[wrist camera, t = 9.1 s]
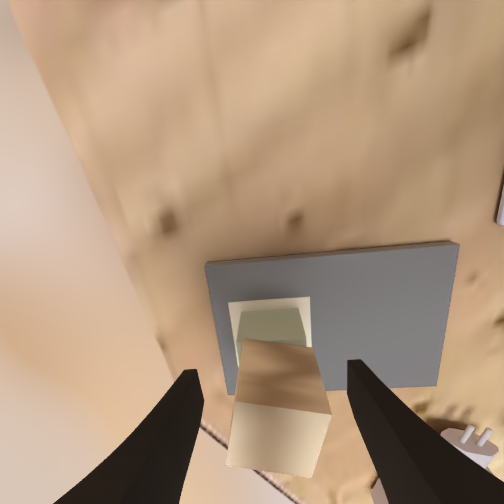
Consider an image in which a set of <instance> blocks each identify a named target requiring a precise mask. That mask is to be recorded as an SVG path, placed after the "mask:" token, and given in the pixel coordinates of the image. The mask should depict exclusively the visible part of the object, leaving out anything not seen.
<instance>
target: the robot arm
mask: <svg viewBox="0 0 504 504" xmlns="http://www.w3.org/2000/svg"><path fill="white" fill-rule="evenodd" d="M497 223H498V224H499V225H502V226H504V186H503V191H502V196H501V201H500V206H499V211H498V215H497ZM347 395H348V398H349V402H350V405H351V408H352V412H353V415H354V418H355V421H356V423H357V426H358V428H359V430H360V433H361V435H362V438H363V440H364V442H365V445H366V447H367V450H368V452H369V454H370V457H371V459H372V462H373V464H374V466H375V469H376V471H377V474H378V476H379V478H380V481H381V484H382V486H383V489H384V491H385V494H386V497H387V500H388V503H389V504H504V482H503V481H501V480H500V479H498V478H497V477H495V476H494V475H493V474H491V473H490V472H488V471H487V470H486V469H484V468H483V467H482V466H480V465H479V464H477V463H476V462H475V461H473V460H472V459H470V458H469V457H468V456H466V455H465V454H464V453H462V452H461V451H460V450H458V449H457V448H456V447H454V446H453V445H452V444H451V443H449V442H448V441H447V440H446V439H444V438H443V437H442V436H441V435H439V434H438V433H437V432H436V431H435V430H433V429H432V428H431V427H430V426H429V425H428V424H426V423H425V422H424V421H423V420H422V419H421V418H420V417H418V416H417V415H416V414H415V413H414V412H413V411H412V410H411V409H410V408H409V407H408V406H406V405H405V404H404V403H403V402H402V401H401V400H400V399H399V398H398V397H397V396H396V395H395V394H394V393H393V392H392V391H391V390H390V389H389V388H388V387H387V386H386V385H385V384H384V383H383V382H382V381H381V380H380V379H379V378H378V377H377V376H376V375H375V374H374V372H373V371H372V370H371V369H370V368H369V367H368V366H367V365H366V364H365V363H364V362H363V361H362V360H361V359H355V360H347ZM203 405H204V398H203V394H202V389H201V385H200V381H199V377H198V373H197V369H188V370H184V371H183V372H182V373H181V375H180V376H179V377H178V378H177V380H176V381H175V382H174V384H173V385H172V386H171V388H170V389H169V390H168V391H167V393H166V394H165V395H164V396H163V397H162V399H161V400H160V401H159V402H158V404H157V405H156V406H155V407H154V408H153V410H152V411H151V412H150V413H149V414H148V415H147V417H146V418H145V419H144V420H143V421H142V422H141V423H140V424H139V426H138V427H137V428H136V429H135V430H134V431H133V432H132V433H131V434H130V435H129V436H128V437H127V438H126V440H125V441H124V442H123V443H122V444H121V445H120V446H119V447H118V448H117V449H116V450H115V451H114V452H112V453H111V455H110V456H108V457H107V458H106V459H105V460H104V461H103V462H102V463H101V464H99V465H98V466H97V467H96V468H95V469H94V470H93V471H92V472H91V473H89V474H88V475H87V476H86V477H85V478H84V479H83V480H82V481H80V482H79V483H78V484H77V485H76V486H74V487H73V488H72V489H71V490H70V491H68V492H67V493H66V494H65V495H63V496H62V497H61V498H60V499H58V500H57V501H56V502H55V503H53V504H179V501H180V496H181V492H182V488H183V484H184V480H185V477H186V473H187V470H188V466H189V463H190V459H191V455H192V452H193V449H194V445H195V441H196V438H197V434H198V431H199V427H200V423H201V417H202V411H203Z"/></svg>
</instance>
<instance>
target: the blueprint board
mask: <svg viewBox="0 0 504 504" xmlns="http://www.w3.org/2000/svg"><path fill="white" fill-rule="evenodd" d="M459 246H460V244H457V243H454V242H451V241H445V242H433V243H422V244H410V245H399V246H387V247H376V248H364V249H353V250H341V251H330V252H318V253H307V254H295V255H284V256H272V257H261V258H249V259H238V260H226V261H215V262H207V263H206V265H205V271H206V277H207V282H208V288H209V293H210V299H211V304H212V310H213V315H214V321H215V326H216V332H217V337H218V343H219V349H220V354H221V360H222V365H223V371H224V376H225V382H226V387H227V393H228V395H235V391H236V384H237V377H238V370H239V359H238V352H237V346H236V340H237V334H238V327H239V321H240V315H241V312H248V311H263V310H277V309H292V308H299V312H300V316H301V319H302V323H303V327H304V331H305V335H306V339H307V347H313V350H314V353H315V357H316V360H317V364H318V367H319V371H320V374H321V378H322V381H323V385H324V388H325V391H334V390H347V360H355V359H361V360H362V361H363V362H364V363H365V364H366V365H367V366H368V367H369V368H370V369H371V370H372V371H373V372H374V374H375V375H376V376H377V377H378V378H379V379H380V380H381V381H382V382H383V383H384V384H385V385H386V386H387V387H388V388H404V387H427V386H437V380H438V374H439V368H440V362H441V356H442V349H443V343H444V337H445V331H446V325H447V319H448V313H449V307H450V301H451V295H452V289H453V283H454V277H455V270H456V264H457V258H458V252H459Z"/></svg>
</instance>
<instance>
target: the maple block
mask: <svg viewBox="0 0 504 504" xmlns="http://www.w3.org/2000/svg"><path fill="white" fill-rule="evenodd" d="M331 417H332V413H331V409H330V406H329V402H328V399H327V395H326V392H325V388H324V385H323V381H322V378H321V374H320V371H319V367H318V364H317V360H316V357H315V353H314V350H313V347H305V346H298V345H291V344H284V343H277V342H270V341H263V340H256V339H249V338H243V343H242V350H241V356H240V363H239V370H238V377H237V384H236V391H235V398H234V406H233V414H232V422H231V429H230V437H229V445H228V453H227V460H226V466H233V467H240V468H247V469H253V470H260V471H267V472H274V473H281V474H288V475H295V476H302V477H309V478H312V475H313V472H314V469H315V466H316V463H317V460H318V457H319V453H320V450H321V447H322V444H323V441H324V438H325V435H326V432H327V429H328V426H329V423H330V420H331Z"/></svg>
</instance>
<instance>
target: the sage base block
mask: <svg viewBox="0 0 504 504" xmlns="http://www.w3.org/2000/svg"><path fill="white" fill-rule="evenodd" d="M243 338H249V339H256V340H263V341H270V342H277V343H284V344H291V345H298V346H305V347H307V339H306V335H305V331H304V327H303V323H302V319H301V316H300V312H299V308H292V309H277V310H263V311H248V312H241V315H240V321H239V327H238V334H237V340H236V346H237V352H238V359H239V363H240V356H241V350H242V343H243Z"/></svg>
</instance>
